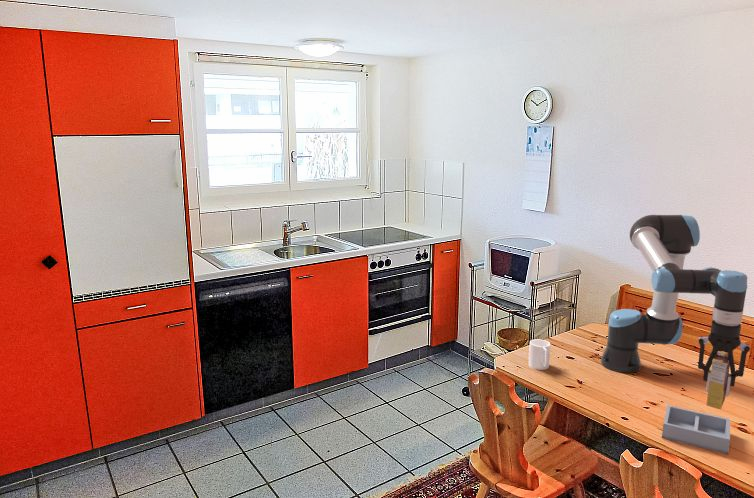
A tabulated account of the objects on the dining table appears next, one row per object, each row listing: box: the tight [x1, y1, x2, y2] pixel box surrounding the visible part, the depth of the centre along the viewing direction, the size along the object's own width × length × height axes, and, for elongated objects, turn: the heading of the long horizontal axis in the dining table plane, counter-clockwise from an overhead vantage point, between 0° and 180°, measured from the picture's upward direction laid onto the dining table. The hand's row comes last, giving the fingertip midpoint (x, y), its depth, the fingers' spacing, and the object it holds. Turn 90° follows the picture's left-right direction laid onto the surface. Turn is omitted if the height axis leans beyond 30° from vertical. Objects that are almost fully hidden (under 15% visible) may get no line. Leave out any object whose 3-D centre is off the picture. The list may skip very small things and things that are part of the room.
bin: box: [661, 404, 731, 455], centre depth 177 cm, size 18×14×5 cm
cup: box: [528, 338, 551, 371], centre depth 227 cm, size 8×12×10 cm
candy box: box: [706, 351, 730, 410], centre depth 171 cm, size 9×4×15 cm, turn 141°
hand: (717, 392), depth 172 cm, fingers closed on candy box, 4 cm apart
